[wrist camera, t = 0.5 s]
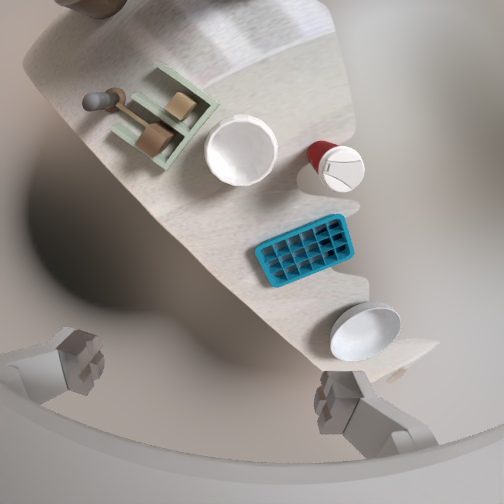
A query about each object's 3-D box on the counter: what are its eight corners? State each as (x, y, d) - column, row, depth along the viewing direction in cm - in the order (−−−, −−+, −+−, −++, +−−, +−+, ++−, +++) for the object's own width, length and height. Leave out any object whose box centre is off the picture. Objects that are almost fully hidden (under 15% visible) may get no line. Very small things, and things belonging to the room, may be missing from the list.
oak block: (184, 92, 47) (177, 92, 41) (198, 103, 48) (193, 103, 42) (173, 107, 48) (164, 108, 42) (187, 117, 50) (180, 120, 44)
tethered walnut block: (112, 83, 45) (88, 82, 36) (178, 130, 51) (166, 137, 42) (98, 104, 46) (73, 107, 37) (163, 150, 52) (148, 162, 43)
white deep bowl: (266, 107, 49) (272, 109, 41) (278, 168, 55) (285, 182, 47) (201, 120, 50) (194, 125, 42) (216, 180, 56) (211, 196, 48)
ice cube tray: (251, 242, 64) (252, 248, 61) (338, 206, 60) (342, 212, 58) (271, 281, 69) (273, 289, 66) (351, 249, 66) (355, 256, 63)
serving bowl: (310, 336, 79) (314, 354, 73) (355, 281, 70) (364, 297, 64) (362, 351, 84) (368, 367, 78) (405, 304, 75) (415, 319, 69)
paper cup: (297, 168, 56) (315, 189, 43) (306, 131, 52) (327, 141, 40) (334, 176, 57) (359, 199, 44) (343, 141, 53) (373, 155, 41)
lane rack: (163, 63, 44) (157, 60, 40) (220, 103, 49) (219, 104, 45) (117, 126, 49) (109, 129, 46) (170, 165, 54) (166, 170, 51)
